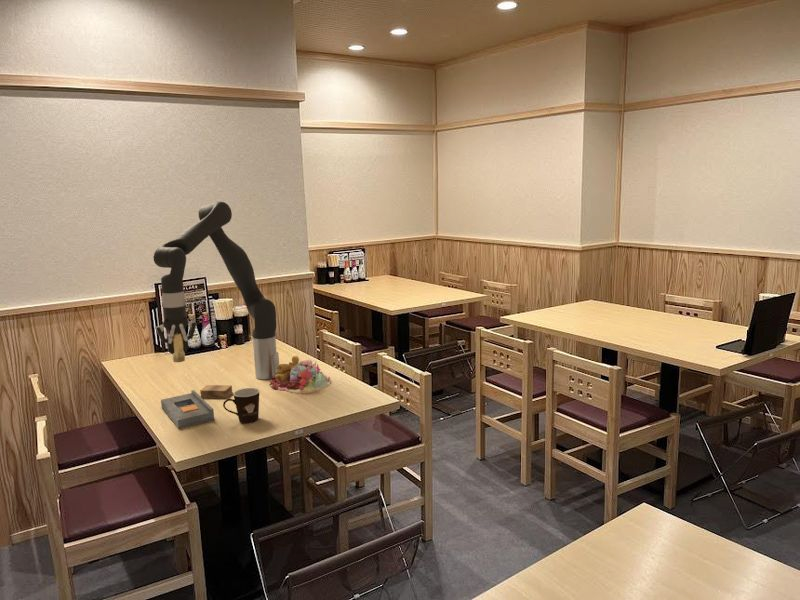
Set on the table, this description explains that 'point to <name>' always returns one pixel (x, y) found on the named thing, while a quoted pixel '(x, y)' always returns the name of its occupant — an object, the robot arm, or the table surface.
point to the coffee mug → (246, 405)
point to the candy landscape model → (299, 377)
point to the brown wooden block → (216, 391)
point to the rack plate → (187, 410)
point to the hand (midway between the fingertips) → (178, 351)
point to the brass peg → (178, 348)
